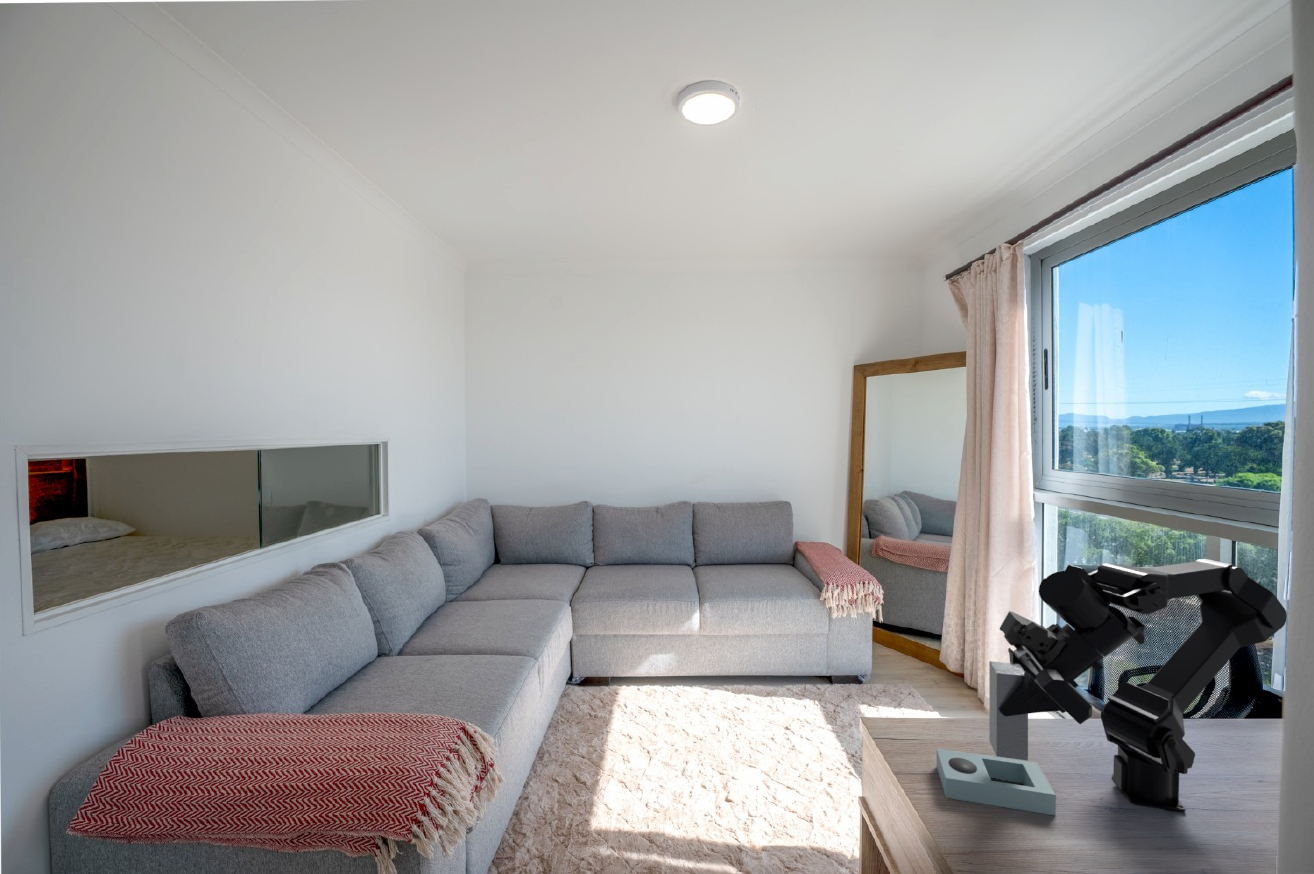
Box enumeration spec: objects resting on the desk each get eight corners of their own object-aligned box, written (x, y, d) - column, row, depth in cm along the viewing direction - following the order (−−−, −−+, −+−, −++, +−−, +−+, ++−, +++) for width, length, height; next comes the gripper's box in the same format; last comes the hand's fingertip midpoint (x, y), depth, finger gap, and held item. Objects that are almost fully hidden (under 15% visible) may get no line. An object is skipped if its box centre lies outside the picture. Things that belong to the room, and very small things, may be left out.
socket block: (1036, 781, 87) (1037, 761, 87) (1055, 815, 80) (1055, 794, 80) (936, 766, 92) (936, 747, 91) (945, 797, 84) (945, 777, 84)
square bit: (1019, 744, 86) (1019, 663, 86) (1027, 760, 83) (1028, 675, 82) (989, 740, 88) (989, 661, 87) (996, 756, 84) (996, 673, 83)
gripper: (1019, 579, 92) (943, 640, 95) (1064, 621, 74) (969, 694, 78) (1076, 631, 90) (996, 691, 93) (1136, 687, 72) (1035, 759, 76)
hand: (997, 705), depth 85 cm, fingers closed on square bit, 4 cm apart
